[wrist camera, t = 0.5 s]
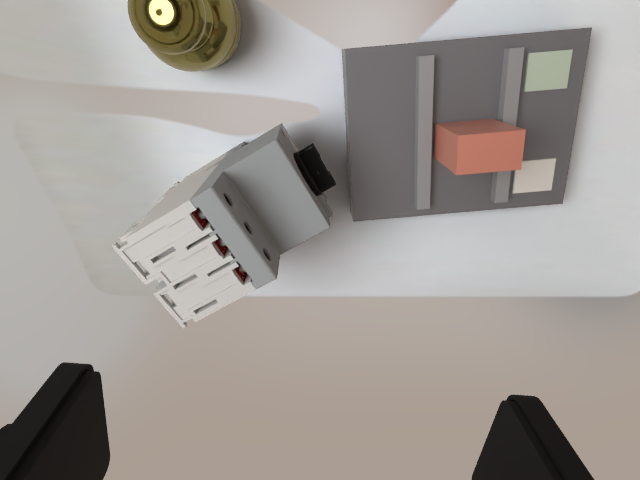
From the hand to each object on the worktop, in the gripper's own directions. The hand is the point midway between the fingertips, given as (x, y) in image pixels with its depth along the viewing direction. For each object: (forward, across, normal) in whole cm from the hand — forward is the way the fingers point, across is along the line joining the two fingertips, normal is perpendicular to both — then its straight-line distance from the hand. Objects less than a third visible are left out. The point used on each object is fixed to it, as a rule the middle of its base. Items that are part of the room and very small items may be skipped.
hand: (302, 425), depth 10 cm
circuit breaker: (+33, +4, +4) cm, 33 cm away
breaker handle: (+30, -14, -3) cm, 33 cm away
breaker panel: (+33, -14, -3) cm, 36 cm away
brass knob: (+33, +10, -9) cm, 36 cm away
